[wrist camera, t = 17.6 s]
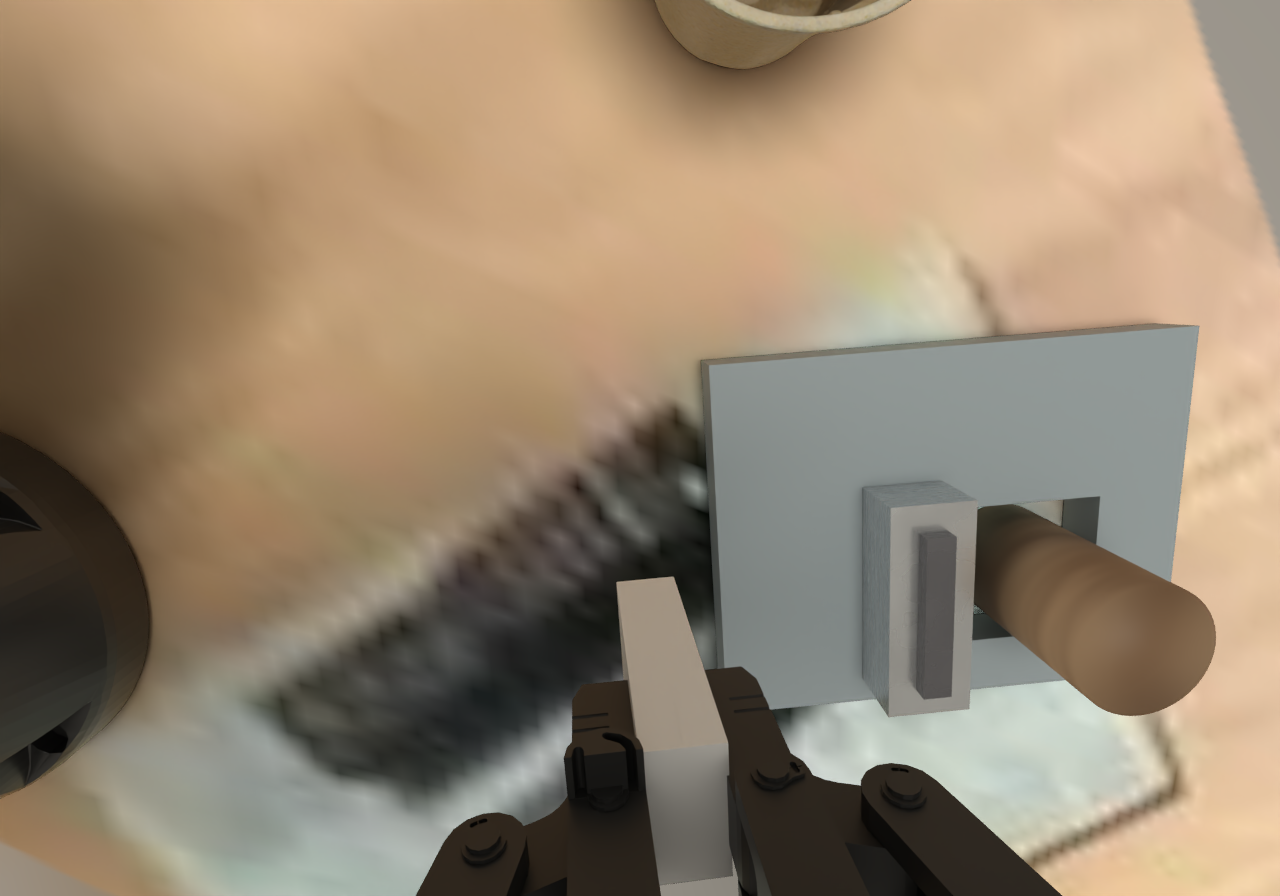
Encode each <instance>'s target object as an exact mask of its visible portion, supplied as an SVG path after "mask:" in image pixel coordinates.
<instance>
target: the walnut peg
mask: <svg viewBox="0 0 1280 896" xmlns="http://www.w3.org/2000/svg"><path fill="white" fill-rule="evenodd" d="M974 604H975V605H976V606H977V607H979V608H980V609H981V610H982V611H983V612H985V613H986V614H987V615H988V616H989V617H991V618H992V619H993V620H994V621H995V622H997V623H998V624H999V625H1000V626H1001V627H1003V628H1004V629H1005V630H1006V631H1007V632H1009V633H1010V634H1011V635H1012V636H1013V637H1015V638H1016V639H1017V640H1018V641H1019V642H1021V643H1022V644H1023V645H1024V646H1025V647H1027V648H1028V649H1029V650H1030V651H1031V652H1033V653H1034V654H1035V655H1036V656H1037V657H1039V658H1040V659H1041V660H1042V661H1043V662H1045V663H1046V664H1047V665H1048V666H1049V667H1051V668H1052V669H1053V670H1054V671H1055V672H1057V673H1058V674H1059V675H1060V676H1061V677H1063V678H1064V679H1065V680H1066V681H1068V682H1069V683H1070V684H1071V685H1072V686H1074V687H1075V688H1076V689H1077V690H1078V691H1080V692H1081V693H1082V694H1083V695H1084V696H1086V697H1087V698H1088V699H1089V700H1090V701H1092V702H1093V703H1094V704H1095V705H1097V706H1098V707H1100V708H1102V709H1104V710H1106V711H1108V712H1111V713H1114V714H1119V715H1126V716H1137V715H1145V714H1150V713H1153V712H1157V711H1160V710H1162V709H1165V708H1167V707H1169V706H1171V705H1172V704H1174V703H1176V702H1177V701H1179V700H1180V699H1182V698H1183V697H1184V696H1186V695H1187V694H1188V693H1189V692H1190V691H1191V690H1192V689H1193V688H1194V687H1195V686H1196V685H1197V684H1198V683H1199V681H1200V680H1201V679H1202V677H1203V676H1204V674H1205V672H1206V671H1207V669H1208V667H1209V665H1210V663H1211V660H1212V657H1213V654H1214V650H1215V644H1216V631H1215V625H1214V621H1213V618H1212V616H1211V613H1210V612H1209V610H1208V608H1207V607H1206V605H1205V604H1204V603H1203V602H1202V601H1201V600H1200V599H1199V598H1198V597H1196V596H1195V595H1194V594H1192V593H1190V592H1189V591H1187V590H1185V589H1183V588H1181V587H1179V586H1177V585H1175V584H1173V583H1171V582H1169V581H1167V580H1165V579H1163V578H1161V577H1159V576H1157V575H1155V574H1153V573H1151V572H1149V571H1147V570H1145V569H1143V568H1141V567H1139V566H1137V565H1135V564H1133V563H1132V562H1130V561H1128V560H1126V559H1124V558H1122V557H1120V556H1118V555H1116V554H1114V553H1112V552H1110V551H1108V550H1106V549H1104V548H1102V547H1100V546H1098V545H1096V544H1094V543H1092V542H1090V541H1088V540H1086V539H1084V538H1082V537H1080V536H1078V535H1076V534H1074V533H1072V532H1070V531H1068V530H1066V529H1064V528H1062V527H1060V526H1058V525H1056V524H1054V523H1052V522H1050V521H1048V520H1046V519H1045V518H1043V517H1041V516H1039V515H1037V514H1035V513H1033V512H1031V511H1029V510H1027V509H1025V508H1022V507H1020V506H1017V505H1013V504H1007V505H996V506H986V507H983V508H981V509H978V510H977V531H976V556H975V581H974Z"/></svg>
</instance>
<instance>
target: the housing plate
mask: <svg viewBox="0 0 1280 896" xmlns="http://www.w3.org/2000/svg"><path fill="white" fill-rule="evenodd" d="M1198 333H1199V326H1194V325H1174V324H1144V325H1131V326H1119V327H1106V328H1094V329H1082V330H1069V331H1057V332H1044V333H1032V334H1020V335H1007V336H995V337H982V338H970V339H958V340H945V341H933V342H920V343H908V344H895V345H883V346H871V347H858V348H846V349H833V350H821V351H809V352H796V353H784V354H771V355H759V356H747V357H734V358H722V359H709V360H701V370H702V389H703V407H704V426H705V444H706V463H707V481H708V500H709V518H710V537H711V555H712V574H713V592H714V611H715V629H716V648H717V666H718V669H720V668H730V667H739V666H742V667H743V668H744V669H745V670H747V671H748V672H749V673H750V674H752V675H753V676H754V677H755V678H756V679H757V681H758V683H759V685H760V687H761V689H762V692H763V694H764V697H765V698H766V700H767V703H768V705H769V709H780V708H790V707H800V706H810V705H820V704H830V703H840V702H850V701H860V700H870V699H876V698H875V696H874V695H873V693H872V692H871V690H870V689H869V687H868V686H867V684H866V683H865V681H864V680H863V487H874V486H885V485H896V484H908V483H919V482H930V481H943V482H945V483H947V484H949V485H951V486H952V487H954V488H956V489H958V490H960V491H962V492H963V493H965V494H967V495H969V496H971V497H973V498H974V499H976V500H978V506H977V507H984V506H996V505H1007V504H1018V503H1029V502H1040V501H1051V500H1062V499H1064V508H1063V522H1062V528H1064V529H1066V530H1068V531H1070V532H1072V533H1074V534H1076V535H1078V536H1080V537H1082V538H1084V539H1086V540H1088V541H1090V542H1092V543H1094V544H1096V545H1098V546H1100V547H1102V548H1104V549H1106V550H1108V551H1110V552H1112V553H1114V554H1116V555H1118V556H1120V557H1122V558H1124V559H1126V560H1128V561H1130V562H1132V563H1133V564H1135V565H1137V566H1139V567H1141V568H1143V569H1145V570H1147V571H1149V572H1151V573H1153V574H1155V575H1157V576H1159V577H1161V578H1163V579H1165V580H1167V581H1169V582H1171V575H1172V566H1173V557H1174V548H1175V539H1176V530H1177V521H1178V512H1179V503H1180V494H1181V485H1182V477H1183V468H1184V459H1185V450H1186V441H1187V432H1188V423H1189V414H1190V405H1191V396H1192V387H1193V378H1194V369H1195V360H1196V351H1197V342H1198ZM1061 680H1065V679H1064V678H1063V677H1061V676H1060V675H1059V674H1058V673H1057V672H1055V671H1054V670H1053V669H1052V668H1051V667H1049V666H1048V665H1047V664H1046V663H1045V662H1043V661H1042V660H1041V659H1040V658H1039V657H1037V656H1036V655H1035V654H1034V653H1033V652H1031V651H1030V650H1029V649H1028V648H1027V647H1025V646H1024V645H1023V644H1022V643H1021V642H1019V641H1018V640H1017V639H1016V638H1015V637H1013V636H1012V635H1011V634H1010V633H1009V632H1007V631H1006V630H1005V629H1004V628H1003V627H1001V626H1000V625H999V624H998V623H997V622H995V621H994V620H993V619H992V618H991V617H989V616H988V615H987V614H986V613H985V614H975V615H973V630H972V655H971V679H970V690H971V689H981V688H991V687H1001V686H1011V685H1021V684H1031V683H1041V682H1051V681H1061Z"/></svg>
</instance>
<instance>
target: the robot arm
mask: <svg viewBox="0 0 1280 896" xmlns="http://www.w3.org/2000/svg"><path fill="white" fill-rule="evenodd" d="M616 583H617V597H618V610H619V623H620V637H621V650H622V664H623V676H624V680H623V681H613V682H604V683H595V684H585V685H582V686H581V688H580V689H579V691H578V692H577V694H576V695H575V697H574V699H573V701H572V719H573V720H572V743H571V744H570V745H569V746H568V747H567V750H566V753H565V756H564V764H565V774H566V784H567V793H568V796H567V798H566V800H565V801H564V802H563V803H562V804H561V806H560V807H559V808H558V809H556V810H555V811H554V812H552V813H551V814H550V815H548V816H546V817H544V818H542V819H540V820H538V821H536V822H533V823H531V824H528V825H525V826H523V825H522V823H521V822H519V821H518V820H517V819H516V818H514V817H513V816H511V815H507V814H503V813H499V812H498V813H487V814H481V815H479V816H476V817H473V818H471V819H468V820H466V821H465V822H463V823H462V824H461V825H459V826H458V827H456V828H455V829H454V830H453V831H452V832H451V834H450V835H449V836H448V838H447V839H446V840H445V841H444V843H443V845H442V847H441V849H440V851H439V853H438V855H437V856H436V858H435V860H434V862H433V864H432V866H431V868H430V870H429V872H428V874H427V876H426V877H425V879H424V881H423V883H422V885H421V887H420V889H419V891H418V893H417V895H416V896H661V893H660V886H659V885H667V884H675V883H682V882H689V881H698V880H705V879H713V878H721V877H728V876H733V872H732V857H733V861H734V864H735V868H736V871H737V875H738V890H739V896H1062V895H1061V894H1060V893H1059V892H1058V891H1056V890H1055V889H1054V888H1053V887H1052V886H1051V885H1050V884H1049V883H1048V882H1047V881H1046V880H1044V879H1043V878H1042V877H1041V876H1040V875H1039V874H1038V873H1037V872H1036V871H1035V870H1034V869H1032V868H1031V867H1030V866H1029V865H1028V864H1027V863H1026V862H1025V861H1024V860H1023V859H1022V858H1020V857H1019V856H1018V855H1017V854H1016V853H1015V852H1014V851H1013V850H1012V849H1011V848H1010V847H1008V846H1007V845H1006V844H1005V843H1004V842H1003V841H1002V840H1001V839H1000V838H999V837H998V836H996V835H995V834H994V833H993V832H992V831H991V830H990V829H989V828H988V827H987V826H986V825H984V824H983V823H982V822H981V821H980V820H979V819H978V818H977V817H976V816H975V815H974V814H972V813H971V812H970V811H969V810H968V809H967V808H966V807H965V806H964V805H963V804H961V803H960V802H959V801H958V800H957V799H956V798H955V797H954V796H953V795H952V794H951V793H949V792H948V791H947V790H946V789H945V788H944V787H943V786H942V785H941V784H940V783H939V782H937V781H936V780H935V779H934V778H932V777H931V776H929V775H928V774H926V773H925V772H923V771H921V770H919V769H916V768H913V767H911V766H908V765H902V764H894V763H889V764H883V765H877V766H875V767H873V768H871V769H870V770H868V771H866V773H865V775H864V776H863V778H862V780H861V786H859V785H852V784H844V783H837V782H832V781H827V780H824V779H821V778H819V777H816V776H814V775H812V773H811V771H810V770H809V768H808V767H807V766H806V764H805V763H804V762H803V761H802V760H800V759H799V758H797V757H796V756H794V755H792V754H791V753H790V751H789V749H788V747H787V744H786V742H785V740H784V738H783V736H782V733H781V731H780V729H779V727H778V725H777V722H776V720H775V718H774V716H773V714H772V711H771V710H770V709H769V705H768V703H767V700H766V698H765V697H764V694H763V692H762V689H761V687H760V685H759V683H758V681H757V679H756V678H755V677H754V676H753V675H752V674H750V673H749V672H748V671H747V670H745V669H744V668H743V667H742V666H739V667H730V668H720V669H711V670H704V668H703V665H702V661H701V658H700V655H699V652H698V649H697V646H696V643H695V640H694V637H693V634H692V631H691V628H690V625H689V622H688V619H687V616H686V613H685V610H684V607H683V604H682V601H681V598H680V595H679V592H678V589H677V586H676V583H675V580H674V577H664V578H654V579H643V580H633V581H622V582H616ZM148 632H149V619H148V607H147V599H146V594H145V590H144V585H143V582H142V578H141V575H140V572H139V569H138V567H137V564H136V562H135V559H134V557H133V555H132V553H131V550H130V548H129V546H128V544H127V543H126V541H125V539H124V537H123V536H122V534H121V532H120V531H119V529H118V528H117V526H116V525H115V523H114V522H113V520H112V519H111V517H110V516H109V515H108V513H107V512H106V511H105V510H104V508H103V507H102V506H101V505H100V504H99V502H98V501H97V500H96V499H95V498H94V497H93V496H92V495H91V494H90V493H89V492H88V491H87V490H86V489H85V488H84V487H83V486H82V485H81V484H80V483H79V482H78V481H77V480H76V479H75V478H74V477H72V476H71V475H70V474H69V473H68V472H66V471H65V470H64V469H63V468H61V467H60V466H59V465H57V464H56V463H55V462H53V461H52V460H50V459H49V458H47V457H46V456H44V455H43V454H41V453H40V452H38V451H36V450H35V449H33V448H31V447H30V446H28V445H26V444H24V443H22V442H20V441H18V440H16V439H15V438H13V437H10V436H8V435H6V434H4V433H1V432H0V799H1V798H3V797H5V796H8V795H10V794H12V793H14V792H16V791H19V790H21V789H23V788H25V787H26V786H28V785H30V784H32V783H34V782H35V781H37V780H38V779H40V778H42V777H43V776H45V775H46V774H48V773H50V772H51V771H53V770H54V769H55V768H57V767H58V766H59V765H61V764H62V763H63V762H65V761H66V760H67V759H68V758H69V757H70V756H72V755H73V754H74V753H75V752H76V751H77V750H79V749H80V748H81V747H82V746H83V745H84V744H86V743H87V742H88V741H89V740H90V739H91V738H93V737H94V736H95V735H96V734H97V733H98V732H99V731H101V730H102V729H103V728H104V727H105V726H106V725H107V724H108V723H109V722H110V721H111V720H112V719H113V718H114V717H115V716H116V715H117V713H118V712H119V711H120V710H121V708H122V707H123V706H124V704H125V703H126V701H127V700H128V698H129V696H130V695H131V693H132V691H133V689H134V687H135V685H136V683H137V681H138V678H139V676H140V673H141V670H142V667H143V664H144V660H145V656H146V651H147V644H148Z"/></svg>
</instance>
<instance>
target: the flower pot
mask: <svg viewBox="0 0 1280 896" xmlns="http://www.w3.org/2000/svg"><path fill="white" fill-rule="evenodd" d="M909 1H911V0H655V3H656V6H657V9H658V11H659V13H660V16H661V18H662V20H663V21H664V23H665V25H666V26H667V28H668V30H669V31H670V32H671V34H672V35H673V36H674V37H675V39H676V40H677V41H678V42H679V43H680V44H681V45H682V46H683V47H684V48H685V49H686V50H687V51H689V52H690V53H691V54H693V55H694V56H696V57H698V58H699V59H702V60H705V61H707V62H710V63H713V64H717V65H720V66H724V67H729V68H736V69H749V68H755V67H759V66H763V65H766V64H769V63H771V62H774V61H776V60H778V59H780V58H782V57H784V56H785V55H787V54H788V53H790V52H791V51H792V50H793V49H795V48H796V47H797V46H798V45H800V44H801V43H803V42H804V41H805V40H807V39H808V38H810V37H812V36H813V35H815V34H821V33H829V32H836V31H841V30H845V29H849V28H853V27H857V26H860V25H864V24H866V23H869V22H871V21H873V20H876V19H878V18H880V17H883V16H885V15H887V14H889V13H891V12H893V11H894V10H896V9H898V8H899V7H901V6H903V5H905V4H906V3H908V2H909Z"/></svg>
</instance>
